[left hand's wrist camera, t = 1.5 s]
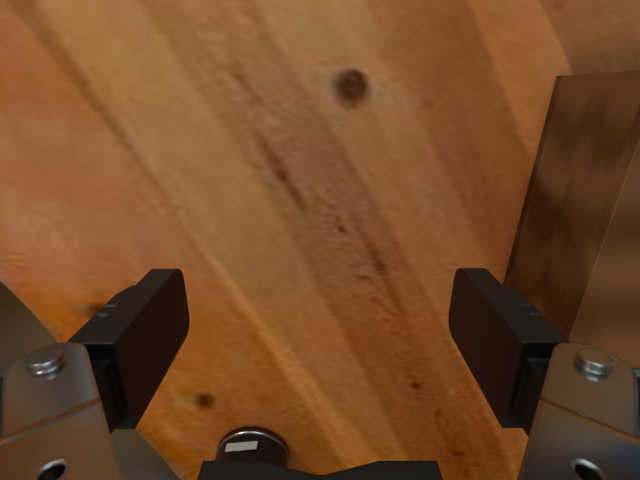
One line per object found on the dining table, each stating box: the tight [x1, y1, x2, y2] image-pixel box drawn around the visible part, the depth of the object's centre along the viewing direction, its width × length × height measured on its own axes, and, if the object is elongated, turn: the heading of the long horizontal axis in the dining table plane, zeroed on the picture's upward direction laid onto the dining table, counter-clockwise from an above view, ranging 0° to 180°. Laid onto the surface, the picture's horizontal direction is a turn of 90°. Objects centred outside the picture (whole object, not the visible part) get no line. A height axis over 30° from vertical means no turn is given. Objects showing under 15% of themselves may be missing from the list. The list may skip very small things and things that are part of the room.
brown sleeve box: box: [503, 71, 640, 368], centre depth 31 cm, size 22×10×11 cm, turn 177°
